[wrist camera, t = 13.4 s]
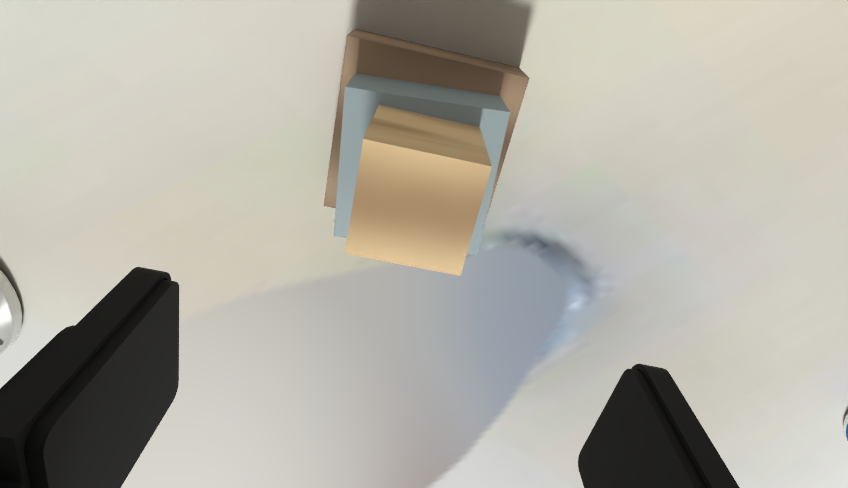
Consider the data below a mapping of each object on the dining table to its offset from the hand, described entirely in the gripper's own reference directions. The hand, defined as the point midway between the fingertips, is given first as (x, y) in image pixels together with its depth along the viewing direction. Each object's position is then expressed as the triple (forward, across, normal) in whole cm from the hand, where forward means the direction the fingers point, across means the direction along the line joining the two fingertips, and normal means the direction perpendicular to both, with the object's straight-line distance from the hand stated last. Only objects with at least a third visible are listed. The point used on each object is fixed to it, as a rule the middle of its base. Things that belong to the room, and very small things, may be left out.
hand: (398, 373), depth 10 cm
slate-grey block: (+20, 0, +2) cm, 21 cm away
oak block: (+16, 0, +1) cm, 16 cm away
